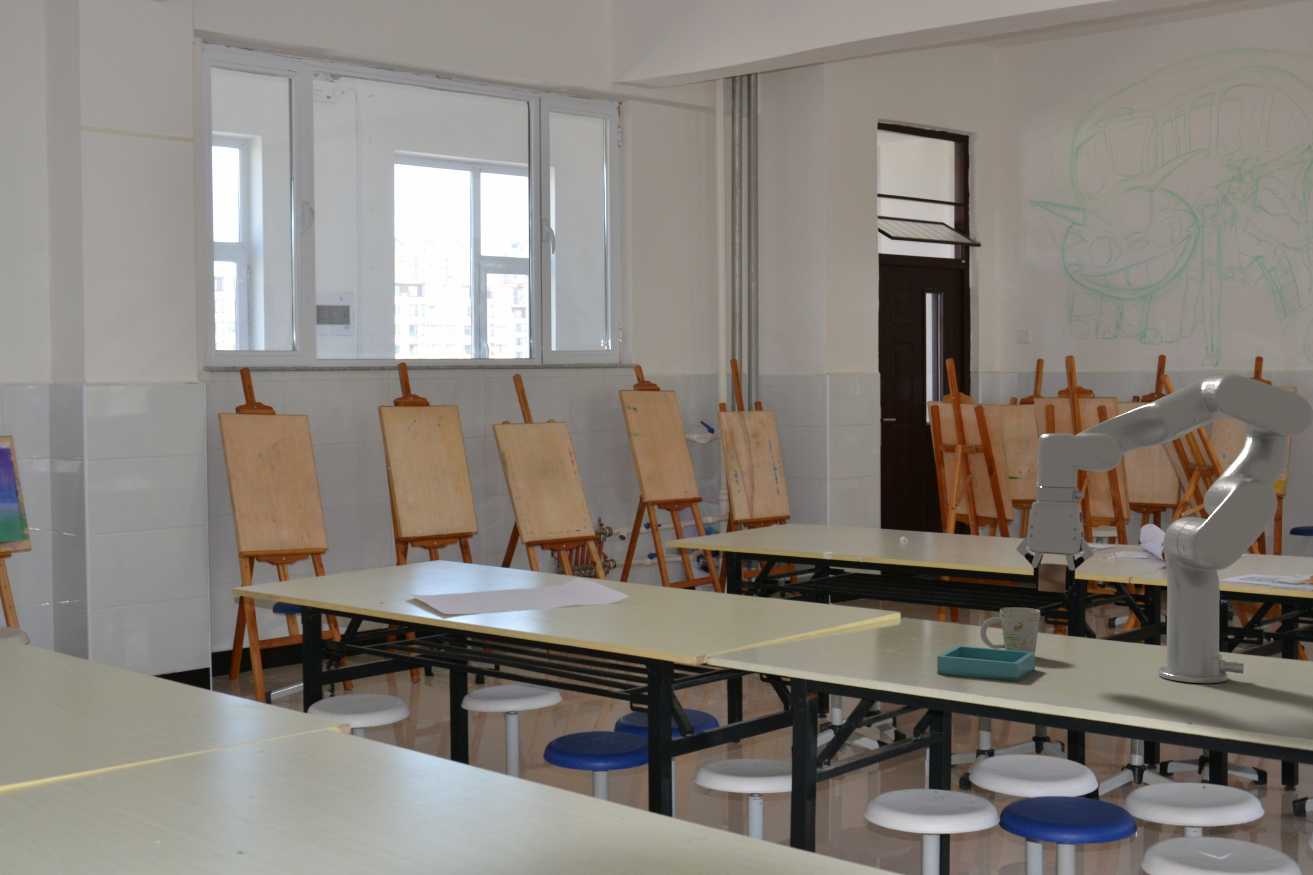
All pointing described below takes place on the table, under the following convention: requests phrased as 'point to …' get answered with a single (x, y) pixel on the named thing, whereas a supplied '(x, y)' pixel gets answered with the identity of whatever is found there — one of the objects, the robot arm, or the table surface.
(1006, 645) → the mug
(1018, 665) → the tray
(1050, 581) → the block
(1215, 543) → the robot arm
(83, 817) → the table surface
